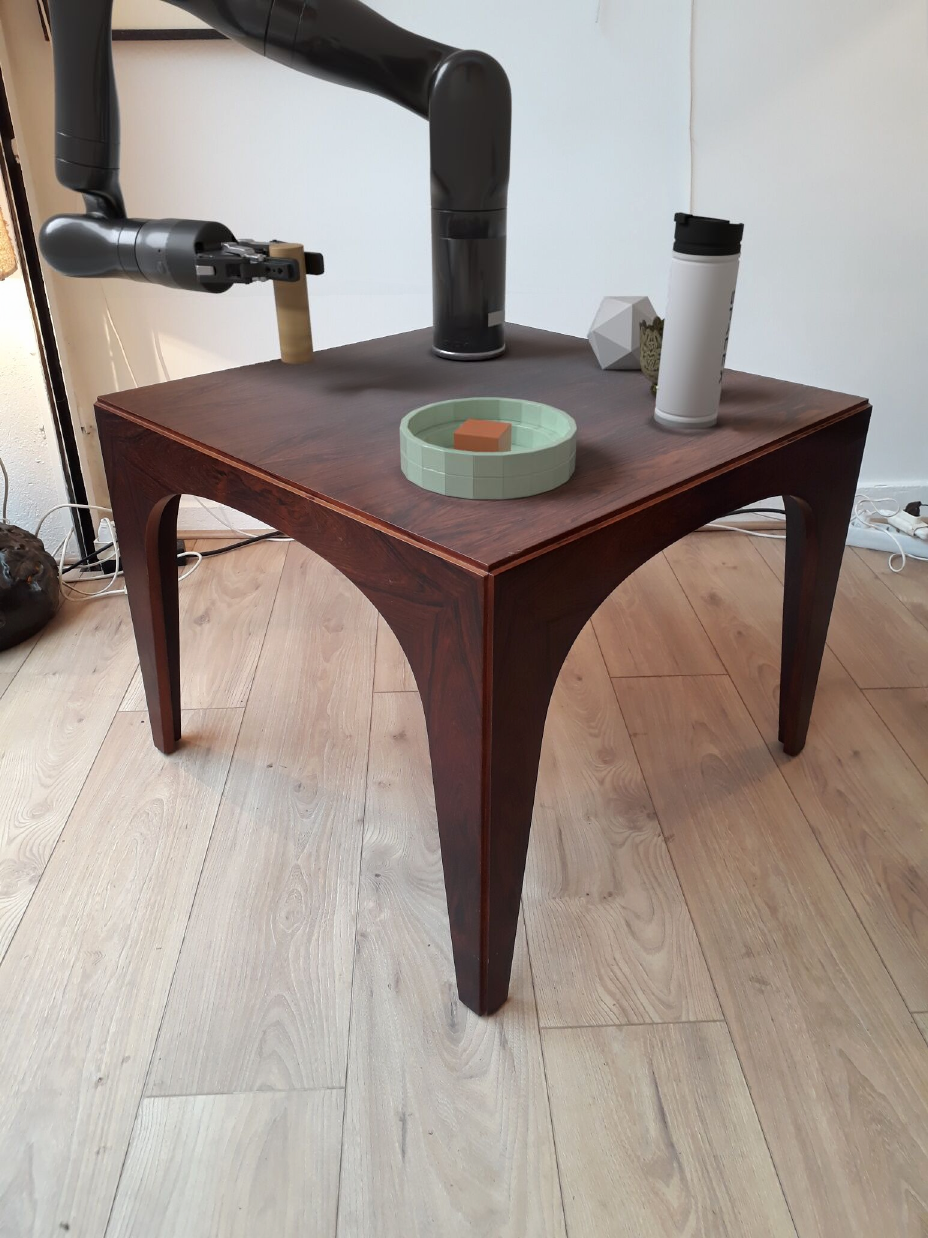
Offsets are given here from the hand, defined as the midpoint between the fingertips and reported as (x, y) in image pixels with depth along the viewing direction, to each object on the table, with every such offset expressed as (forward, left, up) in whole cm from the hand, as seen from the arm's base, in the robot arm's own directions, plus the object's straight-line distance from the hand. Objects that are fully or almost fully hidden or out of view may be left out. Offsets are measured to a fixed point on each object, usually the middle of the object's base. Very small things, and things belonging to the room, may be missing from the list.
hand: (309, 267), depth 95 cm
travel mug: (-2, +40, -14) cm, 42 cm away
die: (-22, +30, -14) cm, 40 cm away
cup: (-11, +37, -14) cm, 41 cm away
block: (+18, +25, -13) cm, 33 cm away
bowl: (+17, +25, -13) cm, 33 cm away
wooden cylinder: (0, -3, -10) cm, 10 cm away
